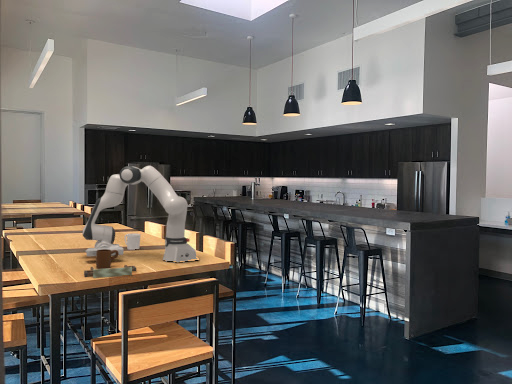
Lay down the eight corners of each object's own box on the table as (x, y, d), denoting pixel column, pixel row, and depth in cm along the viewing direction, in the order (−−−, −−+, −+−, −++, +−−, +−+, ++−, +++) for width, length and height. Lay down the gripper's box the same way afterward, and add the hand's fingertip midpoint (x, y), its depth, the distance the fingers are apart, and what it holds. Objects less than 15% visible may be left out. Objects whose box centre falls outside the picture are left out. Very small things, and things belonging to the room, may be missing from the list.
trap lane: (133, 267, 226) (133, 260, 226) (139, 274, 211) (139, 267, 210) (83, 270, 214) (83, 263, 214) (85, 278, 199) (85, 270, 199)
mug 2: (142, 248, 287) (142, 233, 286) (137, 250, 278) (137, 235, 277) (126, 247, 288) (127, 233, 287) (121, 249, 279) (121, 234, 278)
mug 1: (115, 264, 232) (116, 248, 232) (120, 267, 226) (121, 250, 226) (93, 266, 224) (94, 249, 224) (98, 269, 219) (99, 252, 218)
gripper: (85, 245, 238) (86, 249, 226) (121, 244, 248) (125, 247, 235) (84, 256, 239) (86, 260, 226) (121, 254, 248) (124, 258, 235)
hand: (106, 254), depth 231 cm, fingers closed
